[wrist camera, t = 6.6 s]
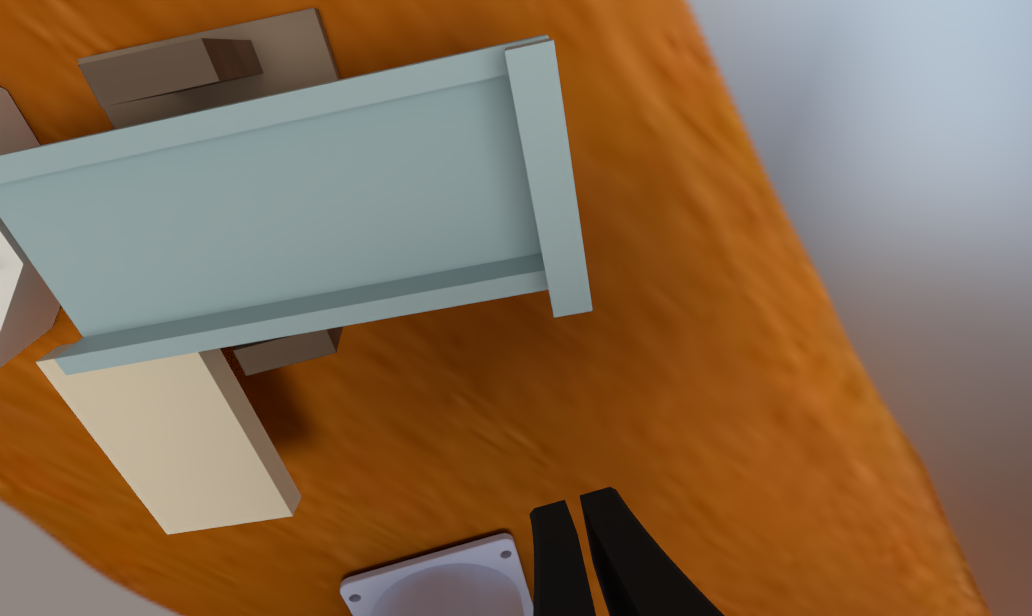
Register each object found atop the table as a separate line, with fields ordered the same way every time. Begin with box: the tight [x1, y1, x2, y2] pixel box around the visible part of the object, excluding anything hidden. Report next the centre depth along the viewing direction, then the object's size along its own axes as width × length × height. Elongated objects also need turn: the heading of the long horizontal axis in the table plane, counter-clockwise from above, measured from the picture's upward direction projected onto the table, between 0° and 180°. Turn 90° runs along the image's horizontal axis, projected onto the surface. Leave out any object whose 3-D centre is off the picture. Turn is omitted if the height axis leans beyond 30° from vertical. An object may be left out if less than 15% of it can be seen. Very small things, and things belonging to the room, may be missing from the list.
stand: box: [77, 8, 343, 376], centre depth 14 cm, size 8×6×4 cm
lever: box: [0, 34, 593, 534], centre depth 13 cm, size 12×15×3 cm
